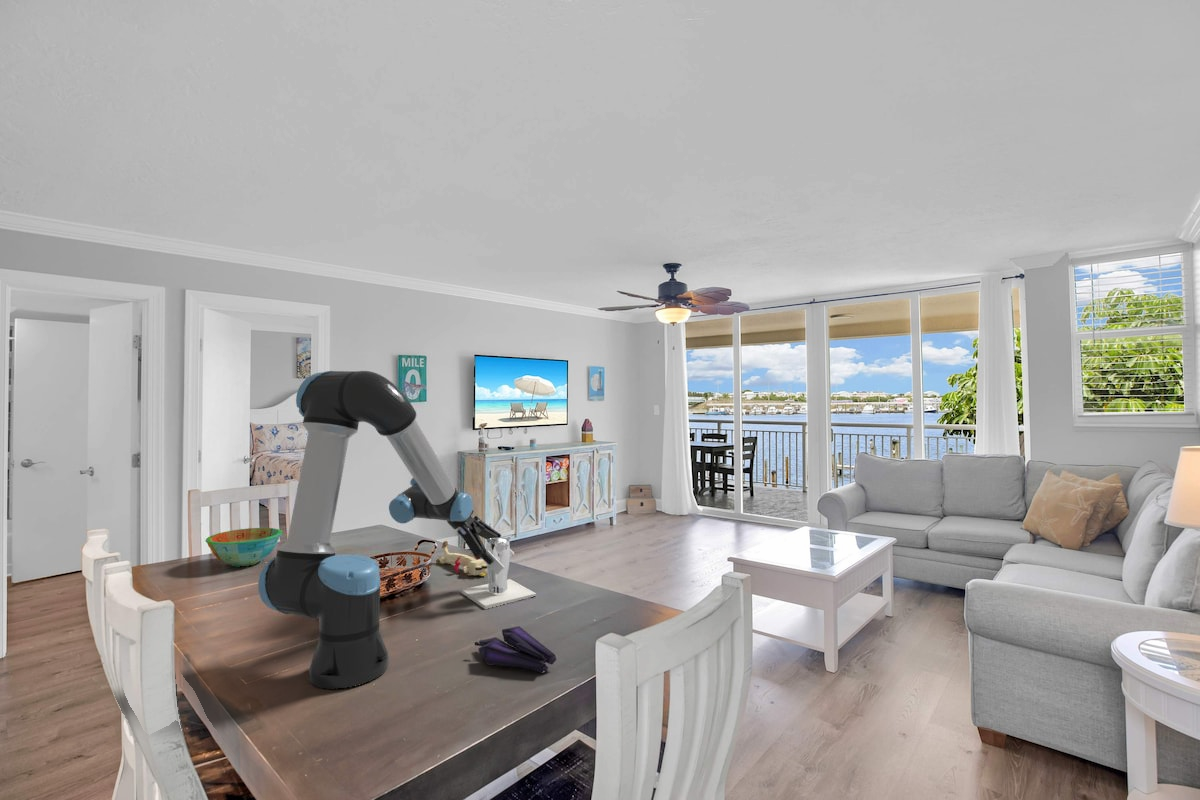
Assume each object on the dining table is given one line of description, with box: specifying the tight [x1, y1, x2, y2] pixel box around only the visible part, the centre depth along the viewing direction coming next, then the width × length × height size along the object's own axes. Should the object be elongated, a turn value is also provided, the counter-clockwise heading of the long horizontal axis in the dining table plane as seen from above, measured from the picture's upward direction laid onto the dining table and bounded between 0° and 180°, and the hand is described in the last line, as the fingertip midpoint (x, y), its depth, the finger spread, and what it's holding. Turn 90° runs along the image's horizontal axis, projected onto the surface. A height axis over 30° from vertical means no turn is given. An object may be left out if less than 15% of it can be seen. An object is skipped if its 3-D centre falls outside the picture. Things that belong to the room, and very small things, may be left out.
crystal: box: [474, 626, 557, 673], centre depth 124 cm, size 7×12×20 cm
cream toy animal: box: [435, 540, 488, 577], centre depth 190 cm, size 10×9×25 cm
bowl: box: [205, 527, 283, 568], centre depth 195 cm, size 22×22×10 cm
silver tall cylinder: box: [485, 536, 511, 595], centre depth 165 cm, size 7×7×15 cm
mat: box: [460, 578, 537, 610], centre depth 165 cm, size 16×16×1 cm
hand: (506, 563), depth 165 cm, fingers open, 13 cm apart
